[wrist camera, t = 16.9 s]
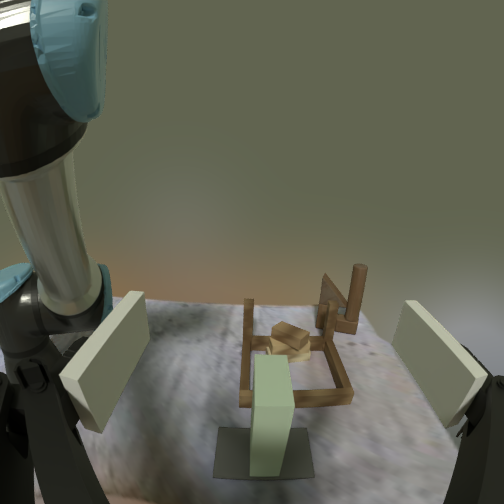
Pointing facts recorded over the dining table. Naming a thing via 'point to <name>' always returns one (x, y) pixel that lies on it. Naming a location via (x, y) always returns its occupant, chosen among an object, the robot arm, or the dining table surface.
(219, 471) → the felt mat
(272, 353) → the oak offcut
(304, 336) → the walnut offcut
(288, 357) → the pine offcut
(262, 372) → the sage block
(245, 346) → the rack
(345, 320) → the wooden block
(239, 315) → the dining table surface
